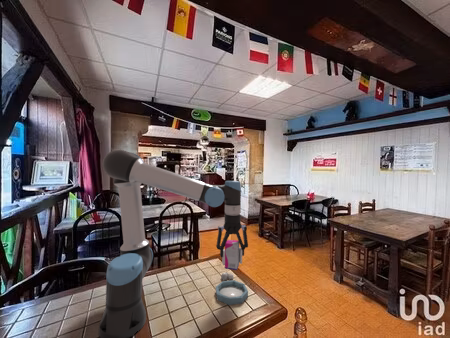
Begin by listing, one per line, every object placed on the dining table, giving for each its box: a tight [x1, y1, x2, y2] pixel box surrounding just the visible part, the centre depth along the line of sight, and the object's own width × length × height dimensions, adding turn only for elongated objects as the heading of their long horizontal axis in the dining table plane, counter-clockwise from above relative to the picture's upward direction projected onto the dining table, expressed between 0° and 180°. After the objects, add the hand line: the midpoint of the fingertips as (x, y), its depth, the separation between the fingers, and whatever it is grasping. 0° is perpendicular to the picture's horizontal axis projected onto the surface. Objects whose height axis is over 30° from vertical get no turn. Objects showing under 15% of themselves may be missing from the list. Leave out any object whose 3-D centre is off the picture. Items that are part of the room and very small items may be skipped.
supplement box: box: [224, 239, 240, 271], centre depth 90 cm, size 6×6×12 cm
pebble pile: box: [220, 272, 234, 281], centre depth 104 cm, size 6×6×4 cm
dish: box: [215, 279, 249, 306], centre depth 90 cm, size 14×14×2 cm
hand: (232, 263), depth 90 cm, fingers closed on supplement box, 7 cm apart
